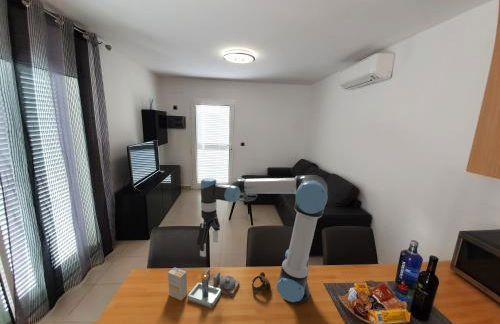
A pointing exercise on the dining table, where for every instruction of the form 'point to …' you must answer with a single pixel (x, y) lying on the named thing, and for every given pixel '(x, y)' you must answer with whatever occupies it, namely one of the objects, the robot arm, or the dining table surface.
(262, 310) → the dining table surface
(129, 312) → the dining table surface
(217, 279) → the pulley block
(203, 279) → the lock pin
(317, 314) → the dining table surface
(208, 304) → the tray
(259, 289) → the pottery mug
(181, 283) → the supplement box
